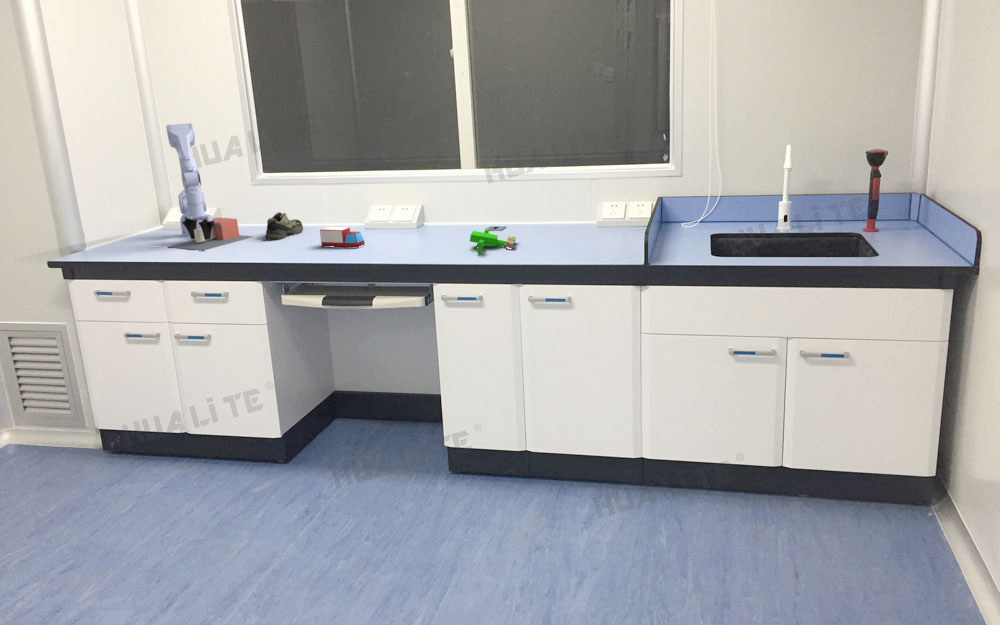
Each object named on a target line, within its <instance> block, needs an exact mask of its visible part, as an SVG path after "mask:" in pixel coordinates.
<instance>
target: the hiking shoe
mask: <svg viewBox="0 0 1000 625" xmlns="http://www.w3.org/2000/svg"><path fill="white" fill-rule="evenodd" d="M266 223H267V225H266V232H265V240H267V241H280V240H283V239H285V238H286V237H290V236H289V235H291V236H295V234H296V235H299V233H300V234H301V233H302V232H303V230H304V226H303V223H302V222H301V220H299V219H290V218H288V216H287V213H285V212H279V211H278V212H276V213H275V214H274V215H273V216H272V217H269V218H268V219H267V221H266Z"/></svg>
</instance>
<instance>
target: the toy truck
mask: <svg viewBox="0 0 1000 625" xmlns="http://www.w3.org/2000/svg"><path fill="white" fill-rule="evenodd" d="M319 233H320V241H321V242H320V243H321V244H320V245H321V247H322V246H334V247H359V246H361V245H364V244H365V239H364V237H363V235H362V233H361V231H351V229H350V226H348V227H347V226H346V227H343V226H340V227H339V226H326V227H324V228H321V229H320V230H319ZM364 246H365V245H364Z"/></svg>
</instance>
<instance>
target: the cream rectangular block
mask: <svg viewBox="0 0 1000 625" xmlns="http://www.w3.org/2000/svg"><path fill="white" fill-rule="evenodd" d="M194 234H195V238H194V240H196V242H202V241H206V240H205V239H204V235H203V231H202V228H198V229H194ZM214 238H216V232H215V226H214V225H213V226H212V229H211V237H210V239H214ZM210 239H208V240H210Z"/></svg>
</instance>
